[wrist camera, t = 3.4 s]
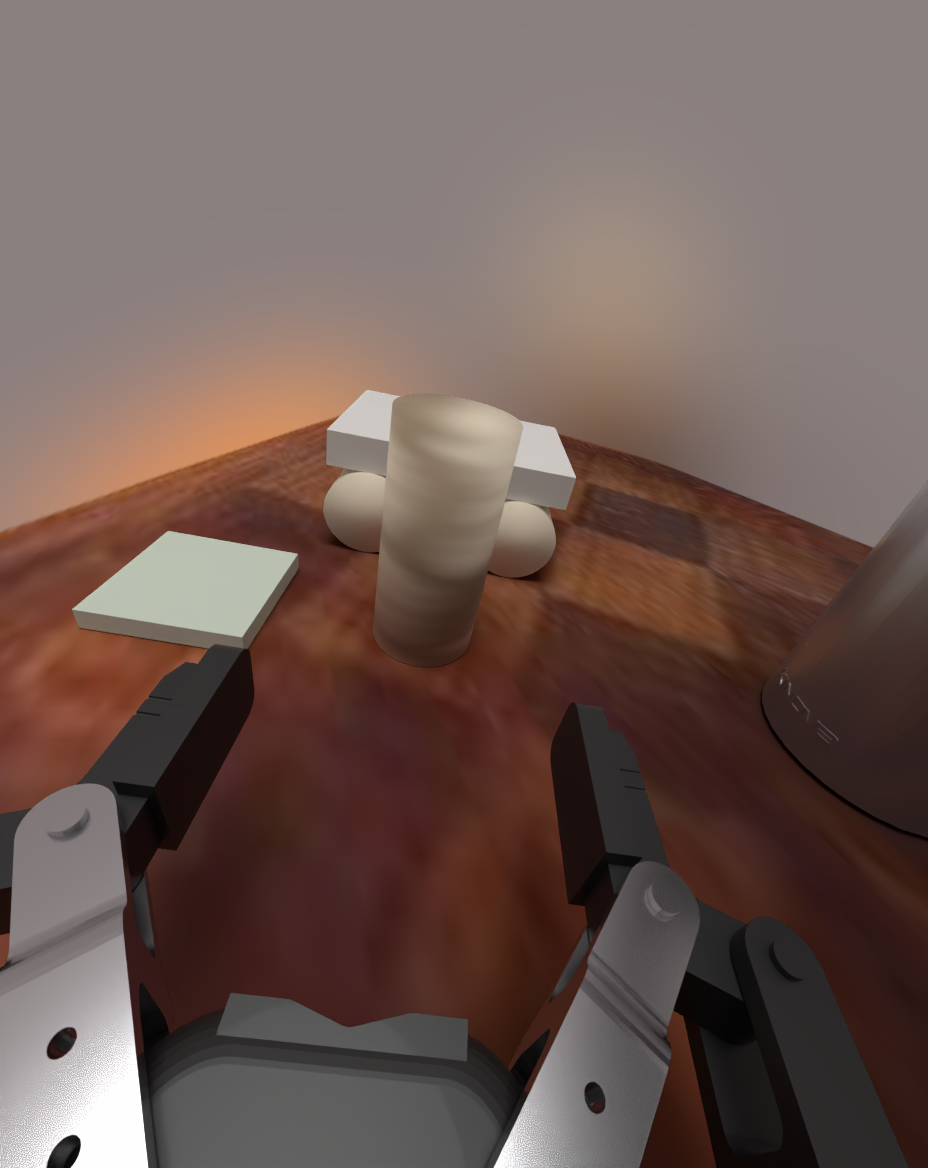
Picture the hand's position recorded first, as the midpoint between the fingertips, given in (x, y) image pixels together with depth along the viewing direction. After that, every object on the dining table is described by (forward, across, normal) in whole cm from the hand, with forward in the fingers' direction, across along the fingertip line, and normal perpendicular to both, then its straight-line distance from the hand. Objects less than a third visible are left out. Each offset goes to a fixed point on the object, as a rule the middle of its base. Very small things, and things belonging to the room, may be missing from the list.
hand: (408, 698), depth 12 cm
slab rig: (+22, 0, +6) cm, 23 cm away
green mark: (+10, +11, +6) cm, 16 cm away
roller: (+10, 0, +6) cm, 12 cm away
